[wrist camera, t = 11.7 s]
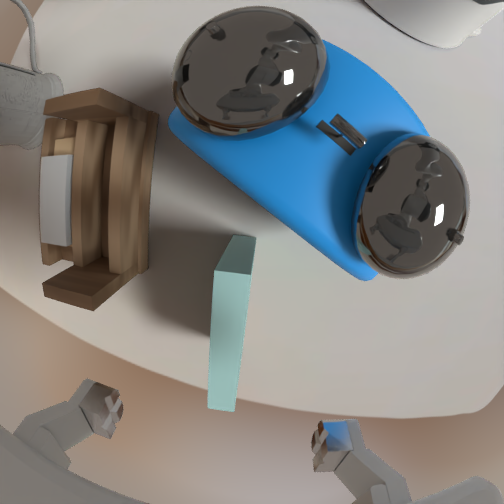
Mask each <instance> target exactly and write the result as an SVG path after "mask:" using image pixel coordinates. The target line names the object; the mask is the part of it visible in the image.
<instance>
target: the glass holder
mask: <svg viewBox="0 0 504 504" xmlns="http://www.w3.org/2000/svg"><path fill="white" fill-rule="evenodd" d="M11 1H12V2H14V3H15V4H17V6H18V7H19V8H20V9H21V10H22V12H23V14H24V16H25V18H26V20H27V23H28V27H29V36H30V58H31V66H32V70H33V71H34V72H33V71H30V70H27V69H23V68H20V67H17V66H13V65H10V64H6V63H2V62H0V145H19V146H21V147H22V148H24V149H33V148H36V147H38V146H39V145H40V144H42V141H43V133H44V126H45V120H46V119H47V118H52V116H47V115H43V112H44V106H45V101H46V100H47V99H51V98H55V97H59V96H63V85H62V82H61V80H60V78H59V77H58V76H57V75H55V74H52V73H46V74H39V73H42V71H41V70H38V69H37V65H36V54H35V30H34V22H33V19H32V17H31V15H30V13H29V11H28V9H27V7H26V6H25V5H24V4H23V3H22V1H21V0H11ZM54 118H58V117H54Z"/></svg>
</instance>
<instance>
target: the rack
mask: <svg viewBox="0 0 504 504" xmlns="http://www.w3.org/2000/svg"><path fill="white" fill-rule="evenodd" d="M43 115H47V116H52V118H47V119H46V120H45V126H44V133H43V141H42V150H41V157H47V156H54V148H55V140H57V139H65V138H73V137H76V140H75V148H74V159H73V172H72V194H71V226H72V247H71V246H67V247H66V246H60V245H54V244H48V243H43V242H41V253H42V262H43V264H45V265H49V266H50V265H52V264H54V263H56V262H58V261H60V260H62V259H63V260H68V261H73V262H74V265H73V266H71V267H70V268H68V269H66V270H64V271H62V272H61V273H59V274H57V275H55V276H53V277H52V278H50V279H48V280H47V281H45V282H43V283H42V285H43V291H44V296H45V297H48V298H51V299H54V300H57V301H60V302H64V303H67V304H70V305H74V306H77V307H80V308H84V309H88V310H91V311H94V310H95V309H97V308H98V307H99V306H100V305H101V304H102V303H104V302H105V301H106V300H107V299H108V298H109V297H111V296H112V295H113V294H114V293H115V292H116V291H118V290H119V289H120V288H121V287H122V286H124V285H125V284H126V283H127V282H128V281H130V280H131V279H132V278H133V277H134V276H136V275H137V274H138V273H139V274H142V273H143V272H144V271H145V270H147V269H148V236H149V209H150V192H151V179H152V168H153V157H154V148H155V140H156V132H157V125H158V118H159V115H158V114H157V113H155V112H153V111H147V110H145V109H143V108H141V107H139V106H137V105H135V104H133V103H131V102H129V101H127V100H125V99H123V98H121V97H119V96H117V95H114V94H112V93H110V92H108V91H106V90H104V89H102V88H96V89H90V90H85V91H80V92H76V93H71V94H67V95H63V96H59V97H55V98H51V99H47V100H46V101H45V106H44V112H43ZM54 117H58V118H54ZM60 118H63V119H60ZM65 119H68V120H65ZM40 171H41V161H40ZM39 225H40V178H39ZM40 241H41V232H40Z"/></svg>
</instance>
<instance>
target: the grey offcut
mask: <svg viewBox="0 0 504 504" xmlns="http://www.w3.org/2000/svg"><path fill="white" fill-rule="evenodd" d="M73 159H74V155H57V156H47V157H41V171H40V232H41V242H43V243H48V244H54V245H60V246H66V247H67V246H69V245H71V244H72V226H71V194H72V172H73Z"/></svg>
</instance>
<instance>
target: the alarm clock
mask: <svg viewBox="0 0 504 504" xmlns="http://www.w3.org/2000/svg"><path fill="white" fill-rule="evenodd" d="M171 85H172V93H173V97H174V101H175V103H176V105H177V106H176V108H175V109H174V110H173V112H172V113H171V114H170V116H169V118H168V126H169V129H170V130H171V131H172V133H173V134H174V135H175V136H176V137H177V138H179V139H180V140H181V141H182V142H183V143H184V144H185V145H186V146H187V147H189V148H190V149H191V150H192V151H193V152H195V153H196V154H197V155H198V156H199V157H201V158H202V159H203V160H204V161H206V162H207V163H208V164H209V165H211V166H212V167H213V168H214V169H216V170H217V171H218V172H219V173H221V174H222V175H223V176H224V177H226V178H227V179H228V180H229V181H231V182H232V183H233V184H234V185H236V186H237V187H238V188H240V189H241V190H242V191H243V192H245V193H246V194H247V195H248V196H250V197H251V198H252V199H253V200H255V201H256V202H257V203H258V204H260V205H261V206H262V207H264V208H265V209H266V210H267V211H269V212H270V213H271V214H272V215H274V216H275V217H276V218H278V219H279V220H280V221H281V222H283V223H284V224H285V225H286V226H288V227H289V228H290V229H292V230H293V231H294V232H295V233H297V234H298V235H299V236H300V237H302V238H303V239H304V240H306V241H307V242H308V243H309V244H311V245H312V246H313V247H315V248H316V249H317V250H318V251H320V252H321V253H322V254H324V255H325V256H326V257H328V258H329V259H330V260H331V261H333V262H334V263H335V264H337V265H338V266H340V267H341V268H342V269H344V270H345V271H347V272H348V273H350V274H351V275H353V276H354V277H356V278H358V279H359V280H363V281H368V280H371V279H373V278H374V277H375V276H376V275H377V274H378V273H379V274H381V275H384V276H387V277H390V278H395V279H410V278H415V277H418V276H422V275H424V274H427V273H429V272H430V271H432V270H433V269H435V268H437V267H438V266H440V265H441V264H442V263H443V262H444V261H445V260H446V259H447V258H448V257H449V256H450V255H451V253H452V252H453V251H454V250H455V248H456V247H457V245H460V244H461V243H462V241H463V239H464V236H463V233H464V231H465V228H466V225H467V221H468V217H469V211H470V192H469V185H468V181H467V178H466V175H465V172H464V169H463V167H462V166H461V164H460V162H459V160H458V159H457V157H456V156H455V155H454V153H453V152H452V151H451V150H450V149H449V148H448V147H447V146H445V145H444V144H442V143H441V142H439V141H437V140H436V139H434V138H432V137H430V136H429V134H428V132H427V131H426V129H425V127H424V126H423V124H422V122H421V121H420V119H419V118H418V117H417V115H416V114H415V112H414V111H413V110H412V108H411V107H410V106H409V105H408V104H407V102H406V101H405V100H404V99H403V98H402V97H401V96H400V94H399V93H398V92H397V91H396V90H395V89H394V88H393V87H392V86H391V85H390V84H389V83H388V82H387V81H386V80H384V79H383V78H382V77H381V76H380V75H379V74H377V73H376V72H375V71H374V70H372V69H371V68H370V67H369V66H367V65H366V64H364V63H363V62H362V61H360V60H359V59H357V58H356V57H354V56H353V55H351V54H349V53H348V52H346V51H344V50H342V49H341V48H339V47H337V46H335V45H333V44H331V43H329V42H327V41H325V40H322V39H321V37H320V36H319V34H318V32H317V31H316V30H315V29H314V28H313V27H312V26H311V25H310V24H309V23H308V22H306V21H305V20H304V19H302V18H301V17H299V16H297V15H295V14H294V13H291V12H289V11H286V10H283V9H280V8H276V7H268V6H246V7H241V8H236V9H233V10H229V11H226V12H223V13H221V14H219V15H217V16H215V17H213V18H211V19H209V20H208V21H206V22H205V23H203V24H202V25H201V26H199V27H198V28H197V29H196V30H195V31H194V32H193V33H192V34H191V35H190V36H189V38H188V39H187V40H186V41H185V43H184V44H183V46H182V47H181V49H180V50H179V52H178V55H177V57H176V60H175V63H174V67H173V71H172V78H171Z"/></svg>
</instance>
